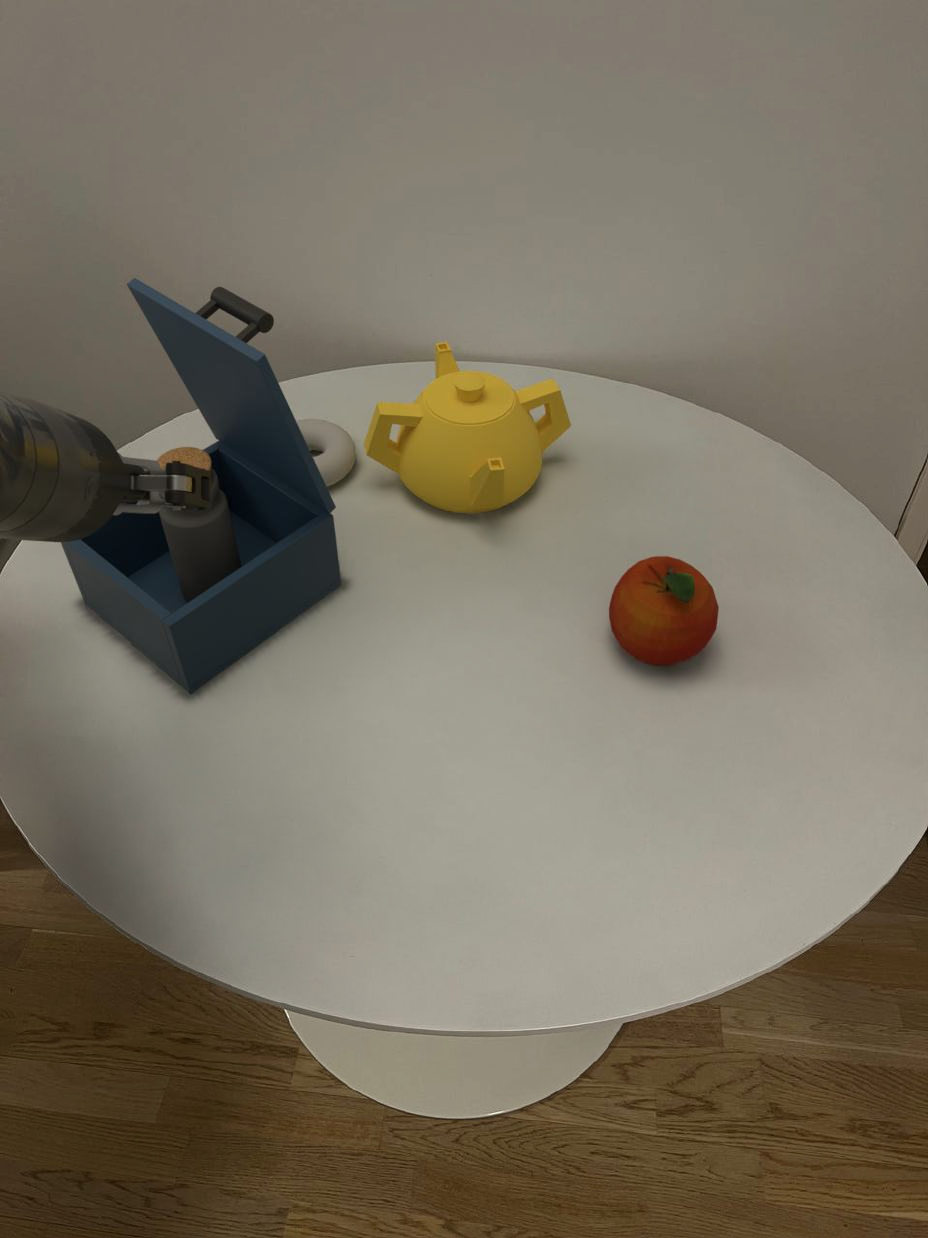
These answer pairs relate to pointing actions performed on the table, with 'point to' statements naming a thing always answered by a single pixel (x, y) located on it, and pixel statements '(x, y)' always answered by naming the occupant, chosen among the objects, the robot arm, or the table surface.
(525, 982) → the table surface
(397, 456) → the teapot
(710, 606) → the fruit
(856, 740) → the table surface
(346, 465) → the donut
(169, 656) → the cool box
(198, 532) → the bottle
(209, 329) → the cool box lid
